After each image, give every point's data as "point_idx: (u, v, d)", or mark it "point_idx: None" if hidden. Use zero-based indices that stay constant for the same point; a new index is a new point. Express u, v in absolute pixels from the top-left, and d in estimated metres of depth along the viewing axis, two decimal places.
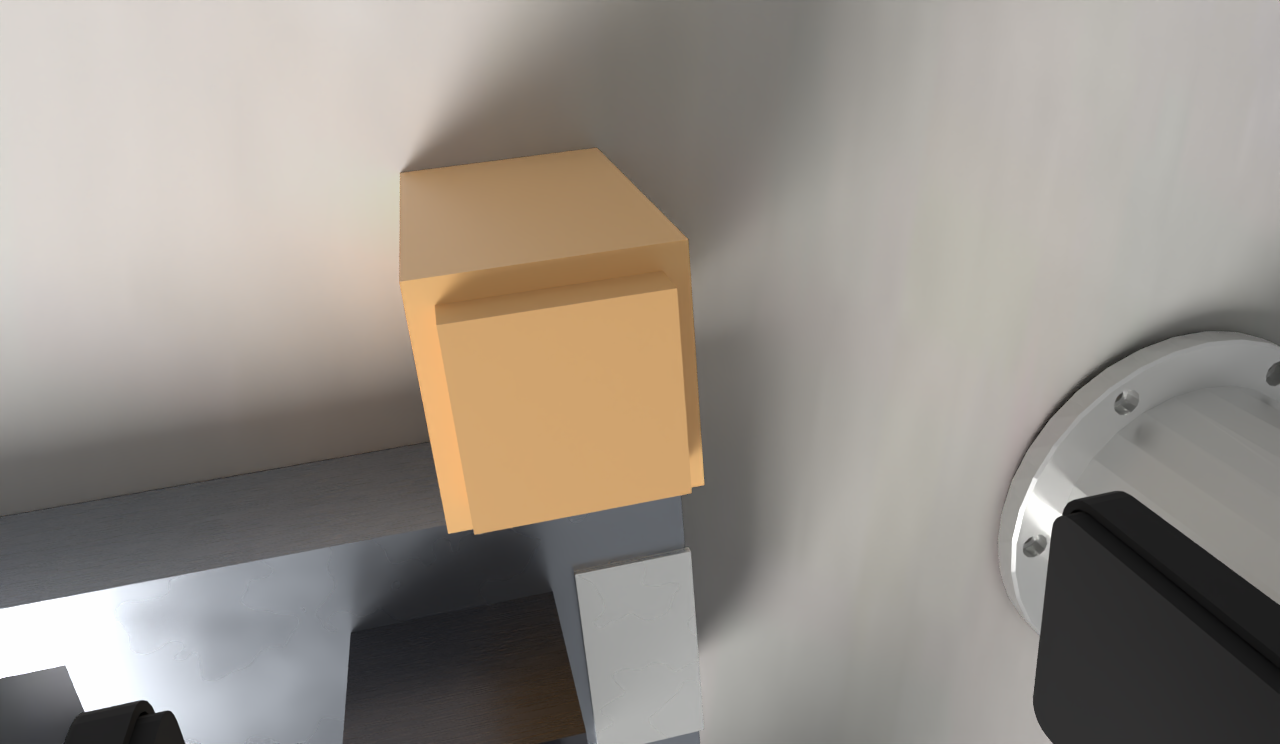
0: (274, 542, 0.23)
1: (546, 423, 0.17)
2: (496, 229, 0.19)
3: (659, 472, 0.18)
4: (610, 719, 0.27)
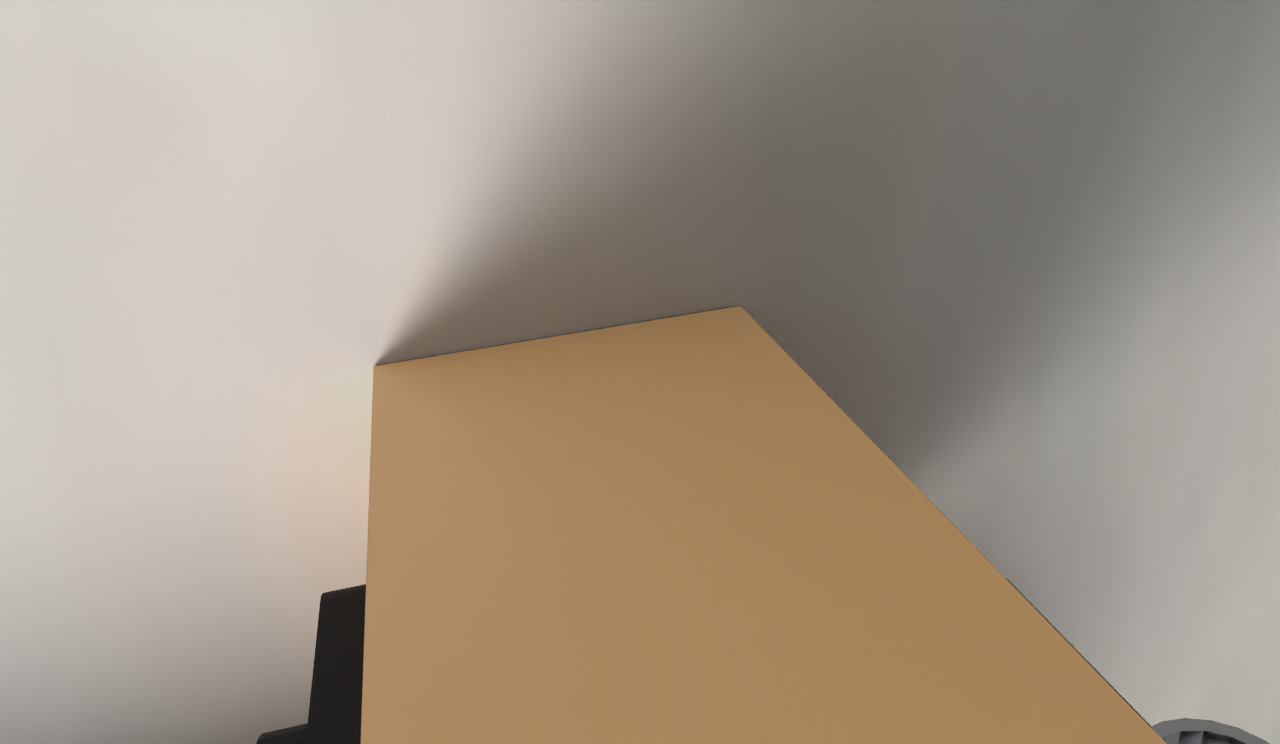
0: None
1: None
2: (618, 668, 0.07)
3: None
4: None
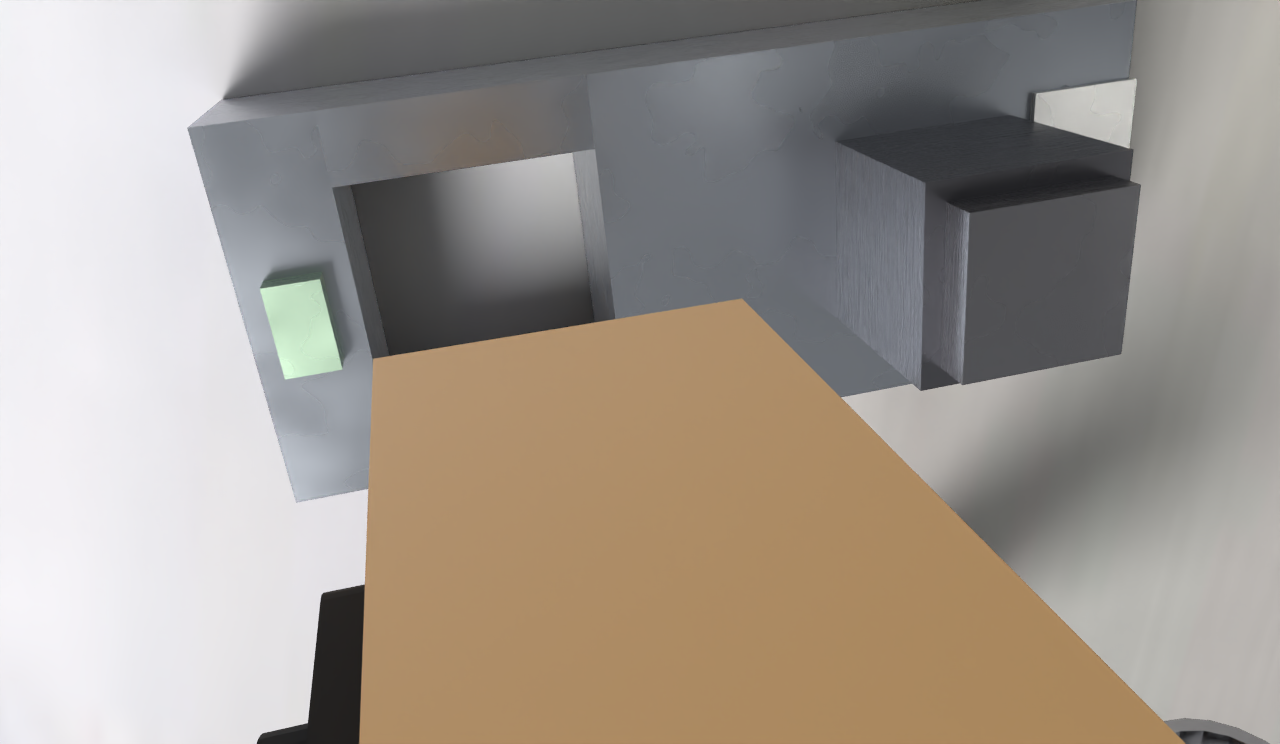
0: (774, 45, 0.25)
1: None
2: (619, 658, 0.07)
3: None
4: None
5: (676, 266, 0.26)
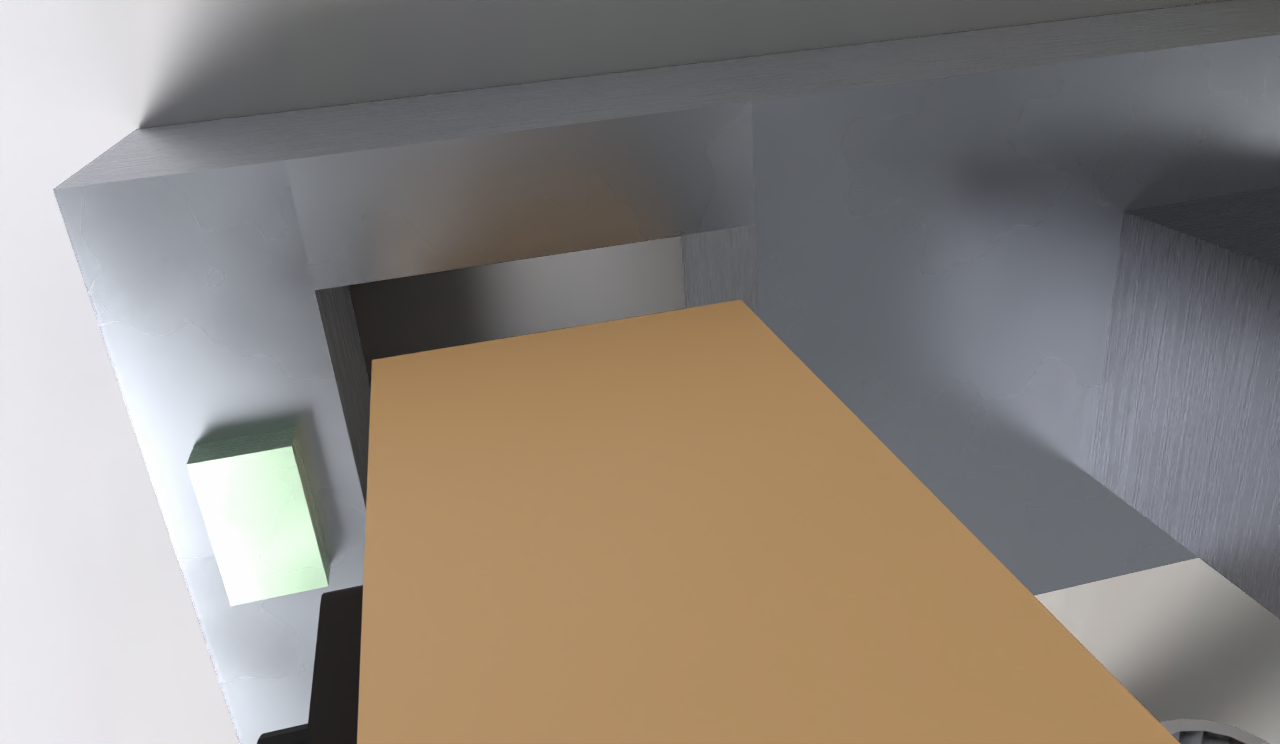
0: (1041, 56, 0.15)
1: None
2: (616, 659, 0.07)
3: None
4: None
5: (865, 405, 0.16)
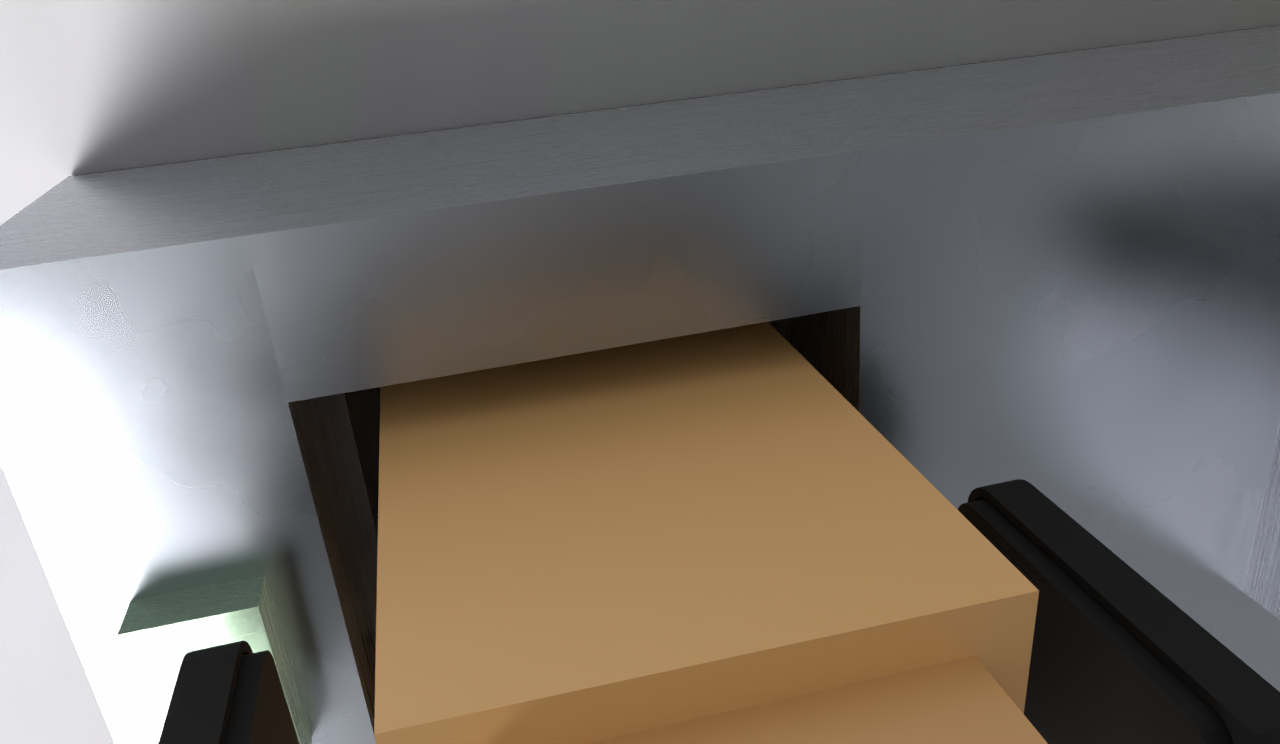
0: (1217, 87, 0.12)
1: None
2: (579, 502, 0.09)
3: None
4: None
5: None
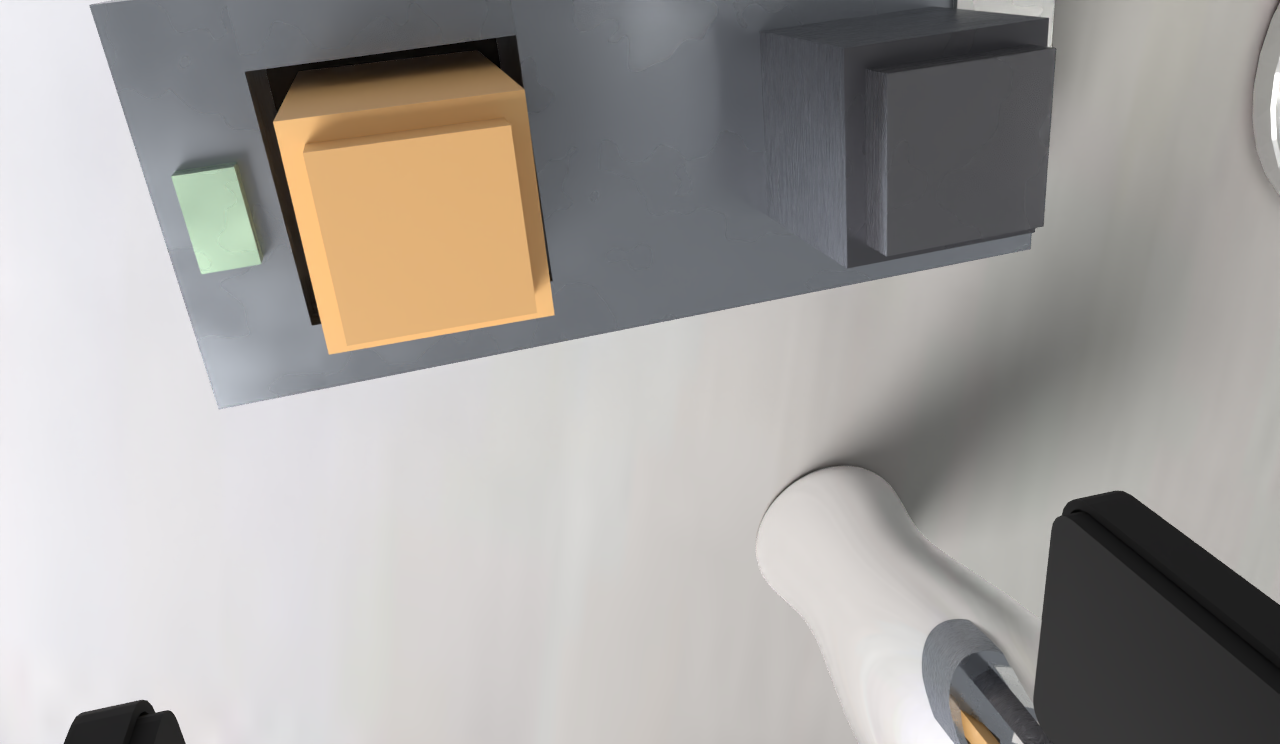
0: None
1: (404, 245, 0.20)
2: (367, 93, 0.22)
3: (507, 292, 0.21)
4: None
5: (603, 160, 0.26)
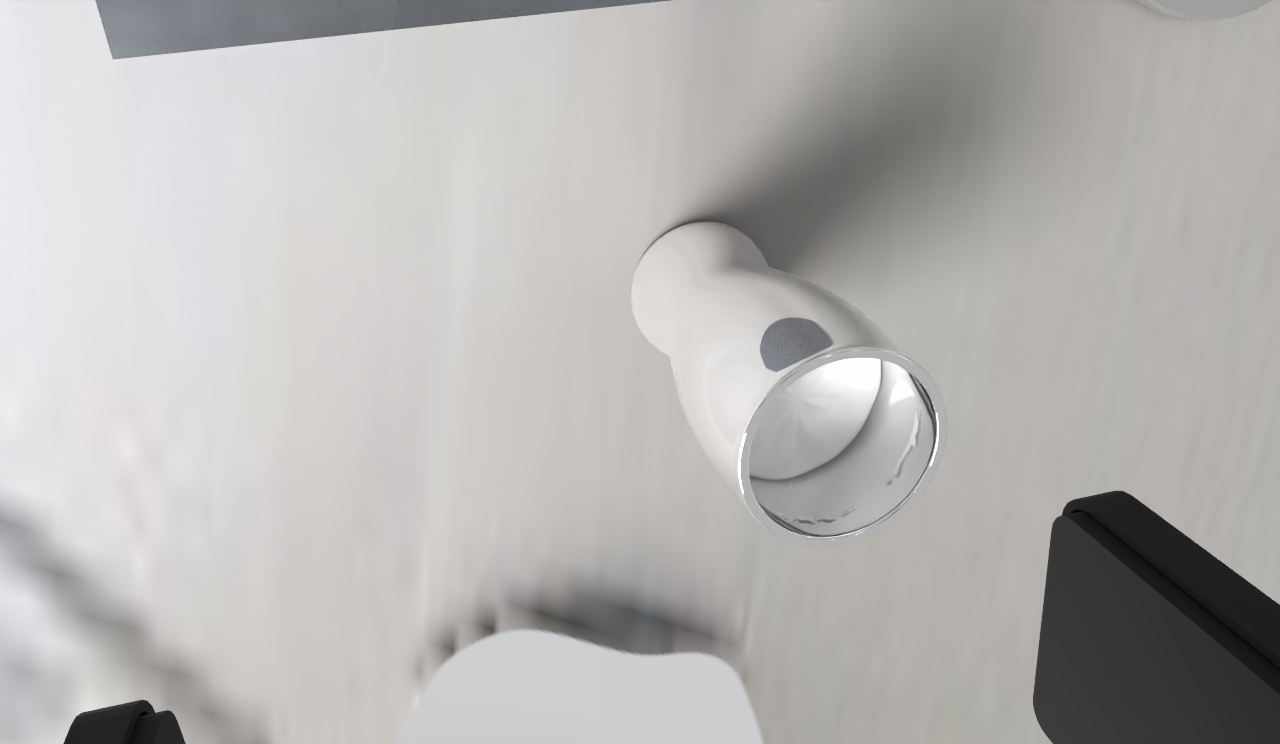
0: None
1: None
2: None
3: None
4: None
5: None
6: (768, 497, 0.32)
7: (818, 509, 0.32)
